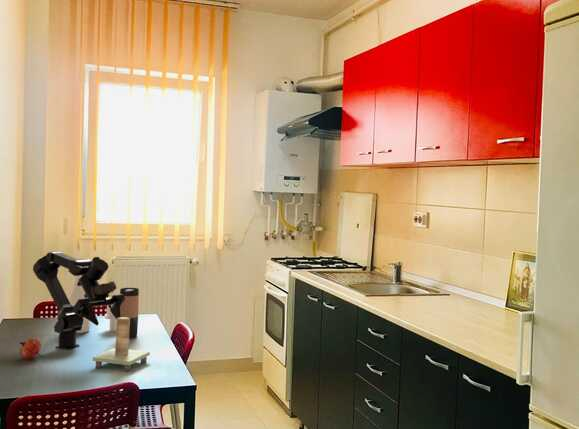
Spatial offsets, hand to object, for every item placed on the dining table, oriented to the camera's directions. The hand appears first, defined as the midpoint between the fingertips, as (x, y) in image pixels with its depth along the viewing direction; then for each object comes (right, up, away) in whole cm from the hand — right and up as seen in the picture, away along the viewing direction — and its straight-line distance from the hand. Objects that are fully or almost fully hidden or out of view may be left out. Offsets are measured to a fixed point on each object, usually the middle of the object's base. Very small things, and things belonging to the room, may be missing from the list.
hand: (109, 322), depth 215 cm
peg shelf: (+6, -14, -4) cm, 16 cm away
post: (+6, -10, -4) cm, 12 cm away
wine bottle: (-26, -12, +43) cm, 51 cm away
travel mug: (-3, -13, +36) cm, 38 cm away
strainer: (-12, -12, +47) cm, 50 cm away
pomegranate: (-27, -13, 0) cm, 30 cm away
